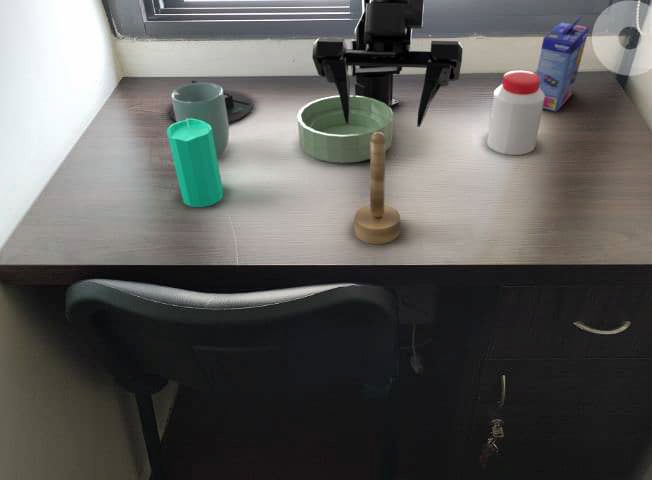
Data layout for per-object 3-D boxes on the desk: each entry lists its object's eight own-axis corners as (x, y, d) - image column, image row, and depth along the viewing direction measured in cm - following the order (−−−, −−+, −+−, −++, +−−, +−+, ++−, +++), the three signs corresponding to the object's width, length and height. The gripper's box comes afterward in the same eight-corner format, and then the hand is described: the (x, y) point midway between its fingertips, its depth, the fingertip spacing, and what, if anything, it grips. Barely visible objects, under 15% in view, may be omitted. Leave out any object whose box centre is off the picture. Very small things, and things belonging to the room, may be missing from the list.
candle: (184, 186, 90) (167, 109, 82) (225, 184, 90) (211, 107, 83) (179, 208, 86) (160, 129, 78) (222, 206, 86) (207, 127, 78)
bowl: (348, 115, 108) (347, 87, 104) (410, 143, 99) (412, 114, 96) (281, 143, 100) (278, 114, 97) (342, 176, 92) (341, 146, 88)
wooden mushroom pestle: (357, 217, 83) (356, 120, 74) (400, 219, 83) (404, 122, 73) (351, 242, 79) (349, 143, 69) (397, 245, 78) (401, 145, 69)
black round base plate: (153, 112, 110) (145, 82, 106) (216, 86, 119) (212, 58, 115) (205, 135, 103) (199, 104, 99) (269, 106, 111) (266, 76, 107)
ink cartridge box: (558, 113, 107) (577, 27, 97) (528, 106, 109) (543, 22, 100) (574, 93, 113) (593, 11, 104) (545, 87, 115) (561, 6, 106)
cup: (222, 165, 95) (211, 104, 88) (176, 161, 96) (162, 100, 89) (239, 143, 100) (230, 83, 94) (195, 139, 102) (183, 80, 95)
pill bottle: (539, 138, 100) (553, 71, 93) (529, 159, 95) (542, 90, 87) (493, 129, 102) (503, 64, 95) (481, 149, 97) (490, 82, 90)
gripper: (310, -33, 71) (299, 96, 70) (470, -31, 69) (461, 102, 68) (323, 17, 82) (314, 129, 81) (462, 20, 80) (454, 135, 79)
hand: (382, 124), depth 77 cm, fingers open, 9 cm apart
